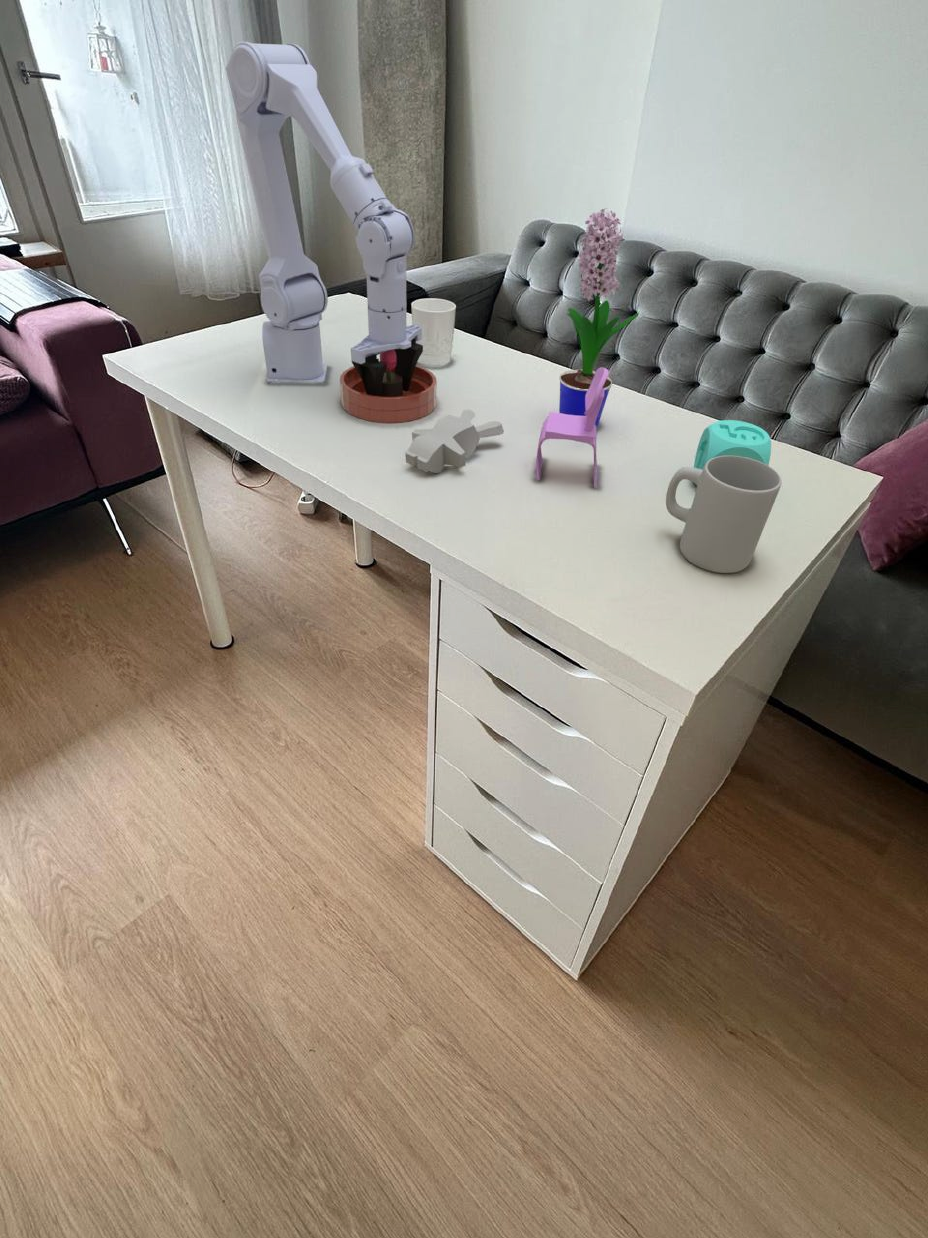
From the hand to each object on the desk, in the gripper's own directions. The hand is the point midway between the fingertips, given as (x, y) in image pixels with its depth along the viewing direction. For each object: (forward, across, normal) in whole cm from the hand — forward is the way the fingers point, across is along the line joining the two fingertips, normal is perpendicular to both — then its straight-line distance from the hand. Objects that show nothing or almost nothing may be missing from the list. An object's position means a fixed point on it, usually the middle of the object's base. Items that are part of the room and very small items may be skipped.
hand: (388, 395), depth 108 cm
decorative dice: (+2, +11, -52) cm, 53 cm away
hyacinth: (+2, +15, -28) cm, 32 cm away
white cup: (+2, +20, +7) cm, 22 cm away
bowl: (+2, 0, 0) cm, 2 cm away
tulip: (+1, 0, 0) cm, 1 cm away
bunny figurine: (+2, -7, -18) cm, 19 cm away
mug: (+2, -6, -55) cm, 56 cm away
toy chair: (+2, -1, -33) cm, 33 cm away
